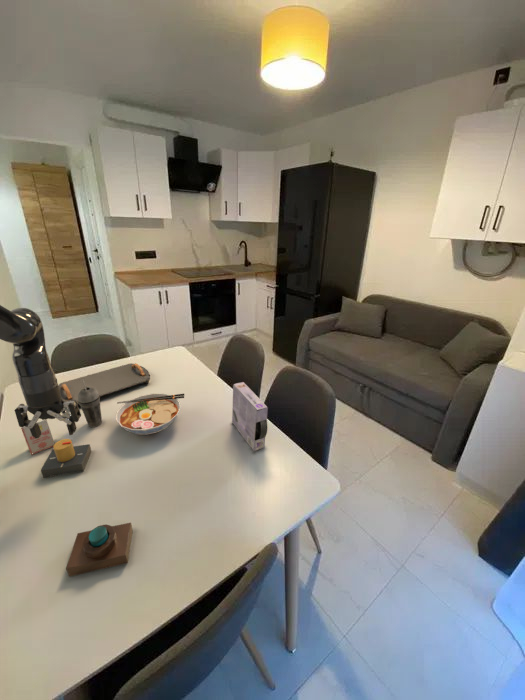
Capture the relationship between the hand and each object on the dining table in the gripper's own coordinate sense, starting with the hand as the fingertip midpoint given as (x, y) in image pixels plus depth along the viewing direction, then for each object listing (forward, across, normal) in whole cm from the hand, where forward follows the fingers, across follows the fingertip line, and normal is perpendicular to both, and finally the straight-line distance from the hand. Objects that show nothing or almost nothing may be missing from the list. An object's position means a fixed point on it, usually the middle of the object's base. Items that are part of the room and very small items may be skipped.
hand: (55, 434), depth 82 cm
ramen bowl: (+16, +22, +20) cm, 34 cm away
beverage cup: (+16, 0, +26) cm, 30 cm away
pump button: (+11, +16, -26) cm, 32 cm away
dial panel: (+16, -2, +6) cm, 17 cm away
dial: (+13, -2, +6) cm, 14 cm away
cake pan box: (+16, +57, +8) cm, 60 cm away
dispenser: (+16, +16, -26) cm, 34 cm away
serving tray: (+16, -2, +54) cm, 56 cm away
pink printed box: (+16, -13, +15) cm, 26 cm away
